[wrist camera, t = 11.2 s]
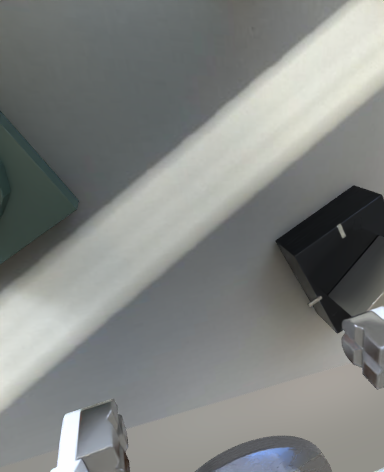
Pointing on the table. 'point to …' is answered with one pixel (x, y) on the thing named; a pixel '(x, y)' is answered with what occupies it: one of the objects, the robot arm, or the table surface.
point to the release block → (27, 193)
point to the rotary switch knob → (363, 282)
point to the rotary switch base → (333, 247)
